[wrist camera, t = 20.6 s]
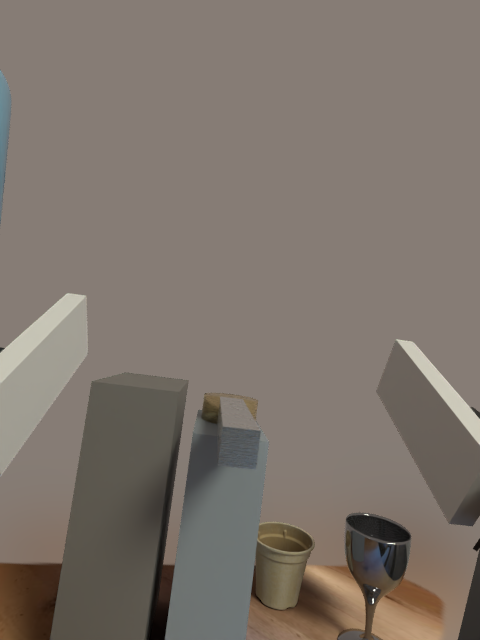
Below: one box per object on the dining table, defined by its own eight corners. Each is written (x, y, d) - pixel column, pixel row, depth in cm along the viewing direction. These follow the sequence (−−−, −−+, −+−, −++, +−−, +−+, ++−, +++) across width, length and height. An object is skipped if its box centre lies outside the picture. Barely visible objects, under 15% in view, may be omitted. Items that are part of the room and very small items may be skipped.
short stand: (155, 703, 36) (193, 433, 39) (172, 600, 51) (198, 409, 54) (237, 709, 37) (268, 441, 39) (230, 605, 52) (253, 416, 54)
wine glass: (324, 651, 46) (337, 524, 47) (345, 617, 52) (355, 507, 54) (393, 690, 41) (405, 549, 43) (406, 648, 48) (416, 527, 49)
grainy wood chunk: (192, 462, 29) (197, 423, 29) (202, 412, 52) (205, 391, 52) (281, 472, 29) (285, 433, 29) (252, 418, 52) (254, 397, 52)
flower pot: (240, 575, 59) (247, 519, 60) (297, 578, 61) (303, 523, 61) (250, 618, 50) (258, 550, 51) (317, 620, 51) (324, 554, 52)
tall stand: (40, 695, 36) (91, 381, 38) (91, 593, 51) (125, 372, 53) (135, 701, 36) (179, 392, 39) (158, 599, 51) (188, 380, 54)
